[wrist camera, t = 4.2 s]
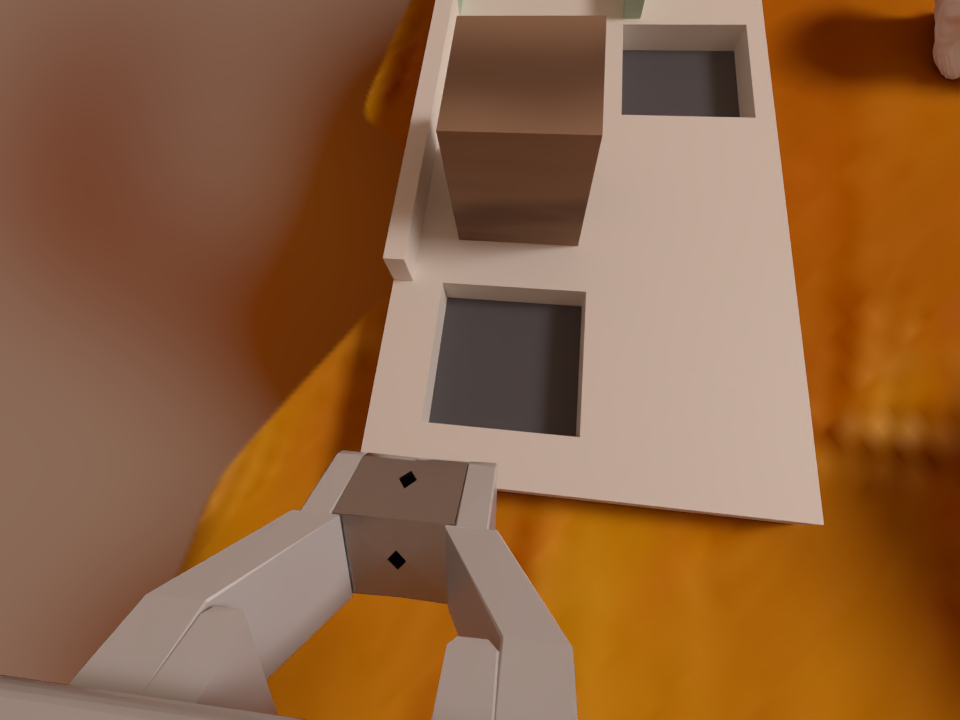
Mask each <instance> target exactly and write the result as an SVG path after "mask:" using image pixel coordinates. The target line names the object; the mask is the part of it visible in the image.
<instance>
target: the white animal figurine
mask: <svg viewBox="0 0 960 720" xmlns="http://www.w3.org/2000/svg"><path fill="white" fill-rule="evenodd" d="M934 1H935V8H934V20H935V28H934V37H935V42H934V46H933V59H934V62H935V64H936V66H937V67H938V69H939V71H940V73H941V75H943V76H944V77H945V78H946V79H951V80H953V79H957V78H959V77H960V0H934Z"/></svg>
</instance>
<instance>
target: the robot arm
mask: <svg viewBox="0 0 960 720" xmlns="http://www.w3.org/2000/svg"><path fill="white" fill-rule="evenodd" d="M497 475H498V467H497V464H496V463H489V462H472V461H471V462H462V461H449V460H436V459H424V458H415V457H406V456H397V455H387V454H378V453H369V452H368V453H365V452H356V451H346V450H342V451H341V452H339V453H337V454H336V456H335V457H334V459H333V460H332V462H331V463H330V465H329V466H328V468H327V470H326V471H325V473H324V474H323V476H322V477H321V479H320V480H319V482H318V483H317V485H316V487H315V488H314V490H313V491H312V493H311V494H310V496H309V497H308V499H307V500H306V502H305V504H304V505H303V507H302V508H301V510H300V511H297V510H291V511H289V512H288V513H286V514H284V515H282V516H281V517H279V518H277V519H276V520H274V521H272V522H270V523H269V524H267V525H265V526H263V527H262V528H260V529H258V530H257V531H255V532H253V533H251V534H250V535H248V536H246V537H244V538H243V539H241V540H239V541H237V542H236V543H234V544H232V545H231V546H229V547H227V548H225V549H224V550H222V551H220V552H218V553H217V554H215V555H213V556H212V557H210V558H208V559H206V560H205V561H203V562H201V563H199V564H198V565H196V566H194V567H193V568H191V569H189V570H187V571H186V572H184V573H182V574H180V575H179V576H177V577H175V578H174V579H172V580H170V581H168V582H167V583H165V584H163V585H161V586H160V587H158V588H156V589H155V590H153V591H151V592H149V593H148V594H146V595H145V596H144V597H143V598H142V600H141V601H140V602H139V603H138V604H137V605H136V606H135V608H134V609H133V610H132V611H131V612H130V613H129V615H128V616H127V617H126V618H125V619H124V620H123V622H122V623H121V624H120V625H119V626H118V627H117V628H116V630H115V631H114V632H113V633H112V634H111V636H109V638H108V639H107V640H106V641H105V642H104V643H103V645H102V646H101V647H100V648H99V649H98V650H97V652H96V653H95V654H94V655H93V656H92V657H91V659H90V660H89V661H88V662H87V663H86V664H85V665H84V667H83V668H82V669H81V670H80V671H79V672H78V674H77V675H76V676H75V677H74V678H73V679H72V680H71V682H70V683H69V684H68V685H67V684H60V683H53V682H46V681H39V680H32V679H25V678H18V677H11V676H5V675H0V720H307V719H300V718H293V717H286V716H279V715H277V711H276V708H275V705H274V702H273V699H272V696H271V693H270V690H269V687H268V684H267V679H268V678H269V677H270V676H271V675H272V674H273V673H274V672H275V671H276V670H277V669H278V668H279V667H280V666H281V665H282V664H283V663H284V662H285V661H286V660H287V659H288V658H289V657H290V656H291V655H292V654H293V653H294V652H295V651H297V650H298V649H299V648H300V647H301V646H302V645H303V644H304V643H305V642H306V641H307V640H308V639H309V638H310V637H311V636H312V635H313V634H314V633H315V632H316V631H317V630H318V629H319V628H320V627H321V626H322V625H323V624H324V623H325V622H326V621H327V620H329V619H330V618H331V617H332V616H333V615H334V614H335V613H336V612H337V611H338V610H339V609H340V608H341V607H342V606H343V605H344V604H345V603H346V602H347V601H348V600H349V599H350V598H351V597H352V596H353V595H352V593H357V594H369V595H380V596H392V597H402V598H409V599H416V600H423V601H430V602H436V603H443V604H448V609H449V611H450V614H451V617H452V619H453V622H454V625H455V628H456V630H457V633H458V636H457V637H456V638H454V639H453V640H452V641H451V642H449V643H448V644H447V646H446V651H445V656H444V661H443V666H442V671H441V676H440V681H439V686H438V691H437V696H436V701H435V706H434V711H433V716H432V720H578V717H577V702H576V686H575V671H574V656H573V647H572V646H571V644H570V643H569V641H568V640H567V638H566V636H565V635H564V633H563V632H562V630H561V629H560V627H559V626H558V624H557V622H556V621H555V619H554V618H553V616H552V615H551V613H550V612H549V610H548V608H547V607H546V605H545V604H544V602H543V601H542V599H541V598H540V596H539V594H538V593H537V591H536V590H535V588H534V587H533V585H532V584H531V582H530V580H529V579H528V577H527V576H526V574H525V573H524V571H523V570H522V568H521V566H520V565H519V563H518V562H517V560H516V559H515V557H514V556H513V554H512V552H511V551H510V549H509V548H508V546H507V545H506V543H505V542H504V540H503V538H502V537H501V535H500V534H499V532H498V531H497V530H495V521H496V500H497Z"/></svg>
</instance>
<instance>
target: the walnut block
mask: <svg viewBox="0 0 960 720" xmlns="http://www.w3.org/2000/svg"><path fill="white" fill-rule="evenodd" d="M606 20H607V15H606V16H457V18H456V23H455V29H454V34H453V40H452V45H451V51H450V56H449V62H448V67H447V73H446V78H445V84H444V89H443V95H442V100H441V106H440V112H439V117H438V123H437V128H436V133H437V138H438V143H439V147H440V152H441V157H442V162H443V166H444V171H445V176H446V181H447V185H448V190H449V195H450V199H451V204H452V209H453V214H454V218H455V223H456V228H457V233H458V237H459V240H472V241H491V242H510V243H529V244H548V245H567V246H578V244H579V239H580V235H581V230H582V225H583V221H584V216H585V212H586V207H587V203H588V198H589V194H590V189H591V185H592V180H593V176H594V171H595V167H596V162H597V158H598V153H599V149H600V144H601V140H602V135H603V107H604V78H605V49H606Z"/></svg>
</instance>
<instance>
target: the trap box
mask: <svg viewBox="0 0 960 720" xmlns="http://www.w3.org/2000/svg"><path fill="white" fill-rule="evenodd" d="M606 15H607V20H606V49H605V78H604V107H603V135H602V140H601V144H600V149H599V153H598V158H597V162H596V167H595V171H594V176H593V180H592V185H591V189H590V194H589V198H588V203H587V207H586V212H585V216H584V221H583V225H582V230H581V235H580V239H579V244H578V246H567V245H548V244H529V243H510V242H491V241H472V240H459V237H458V233H457V228H456V223H455V218H454V214H453V209H452V204H451V199H450V195H449V190H448V185H447V181H446V176H445V171H444V166H443V162H442V157H441V152H440V147H439V143H438V138H437V133H436V128H437V123H438V117H439V112H440V106H441V100H442V95H443V89H444V84H445V78H446V73H447V67H448V62H449V56H450V51H451V45H452V40H453V34H454V29H455V23H456V18H457V16H606ZM383 260H384V262H385V264H386V266H387V267H388V269H389V271H390V273H391V275H392V277H393V279H394V281H393V286H392V291H391V297H390V302H389V307H388V312H387V317H386V322H385V328H384V333H383V338H382V343H381V348H380V354H379V359H378V364H377V369H376V374H375V379H374V385H373V390H372V395H371V400H370V405H369V411H368V416H367V421H366V426H365V431H364V437H363V442H362V447H361V452H365V453H368V452H369V453H378V454H387V455H397V456H406V457H415V458H424V459H436V460H449V461H462V462H471V461H472V462H489V463H496V464H497V467H498V475H497V491H503V492H512V493H520V494H529V495H538V496H547V497H556V498H565V499H574V500H583V501H592V502H600V503H609V504H618V505H627V506H636V507H645V508H654V509H663V510H672V511H680V512H689V513H698V514H707V515H716V516H725V517H734V518H743V519H752V520H760V521H769V522H778V523H787V524H800V525H824V521H823V513H822V504H821V496H820V488H819V479H818V471H817V462H816V454H815V446H814V437H813V429H812V420H811V412H810V403H809V395H808V387H807V378H806V370H805V361H804V353H803V345H802V336H801V328H800V319H799V311H798V302H797V294H796V286H795V277H794V269H793V260H792V252H791V244H790V235H789V227H788V218H787V210H786V201H785V193H784V185H783V176H782V168H781V159H780V151H779V143H778V134H777V126H776V117H775V109H774V100H773V92H772V84H771V75H770V67H769V58H768V50H767V42H766V33H765V25H764V16H763V8H762V0H435V5H434V10H433V15H432V20H431V25H430V30H429V35H428V39H427V44H426V49H425V54H424V59H423V64H422V69H421V74H420V79H419V83H418V88H417V93H416V98H415V103H414V108H413V113H412V118H411V122H410V127H409V132H408V137H407V142H406V147H405V152H404V157H403V162H402V166H401V171H400V176H399V182H398V186H397V191H396V196H395V201H394V205H393V210H392V215H391V220H390V225H389V230H388V235H387V240H386V245H385V249H384V255H383Z"/></svg>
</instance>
